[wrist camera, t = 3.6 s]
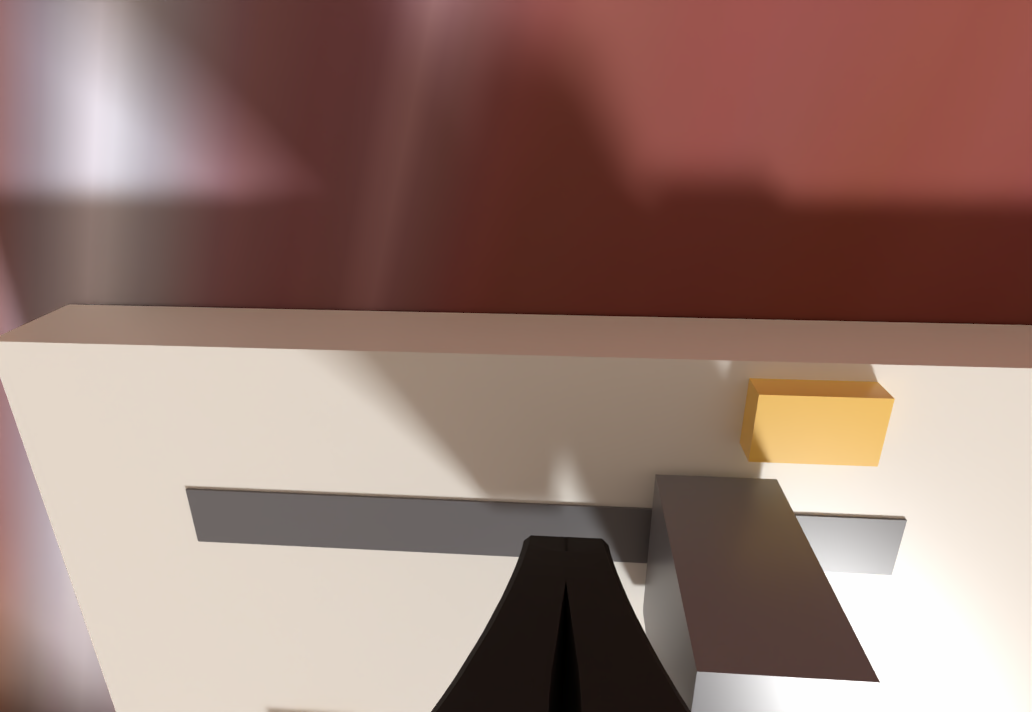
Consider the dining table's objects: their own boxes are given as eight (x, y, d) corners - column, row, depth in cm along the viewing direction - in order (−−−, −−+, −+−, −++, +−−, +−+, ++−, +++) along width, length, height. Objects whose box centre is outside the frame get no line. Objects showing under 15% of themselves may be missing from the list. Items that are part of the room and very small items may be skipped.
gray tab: (752, 616, 12) (830, 850, 8) (642, 610, 12) (673, 838, 9) (776, 478, 11) (880, 682, 7) (655, 474, 11) (697, 671, 7)
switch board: (961, 851, 18) (1022, 972, 15) (208, 792, 19) (157, 894, 17) (1181, 328, 12) (1337, 393, 9) (68, 304, 13) (-42, 354, 11)
